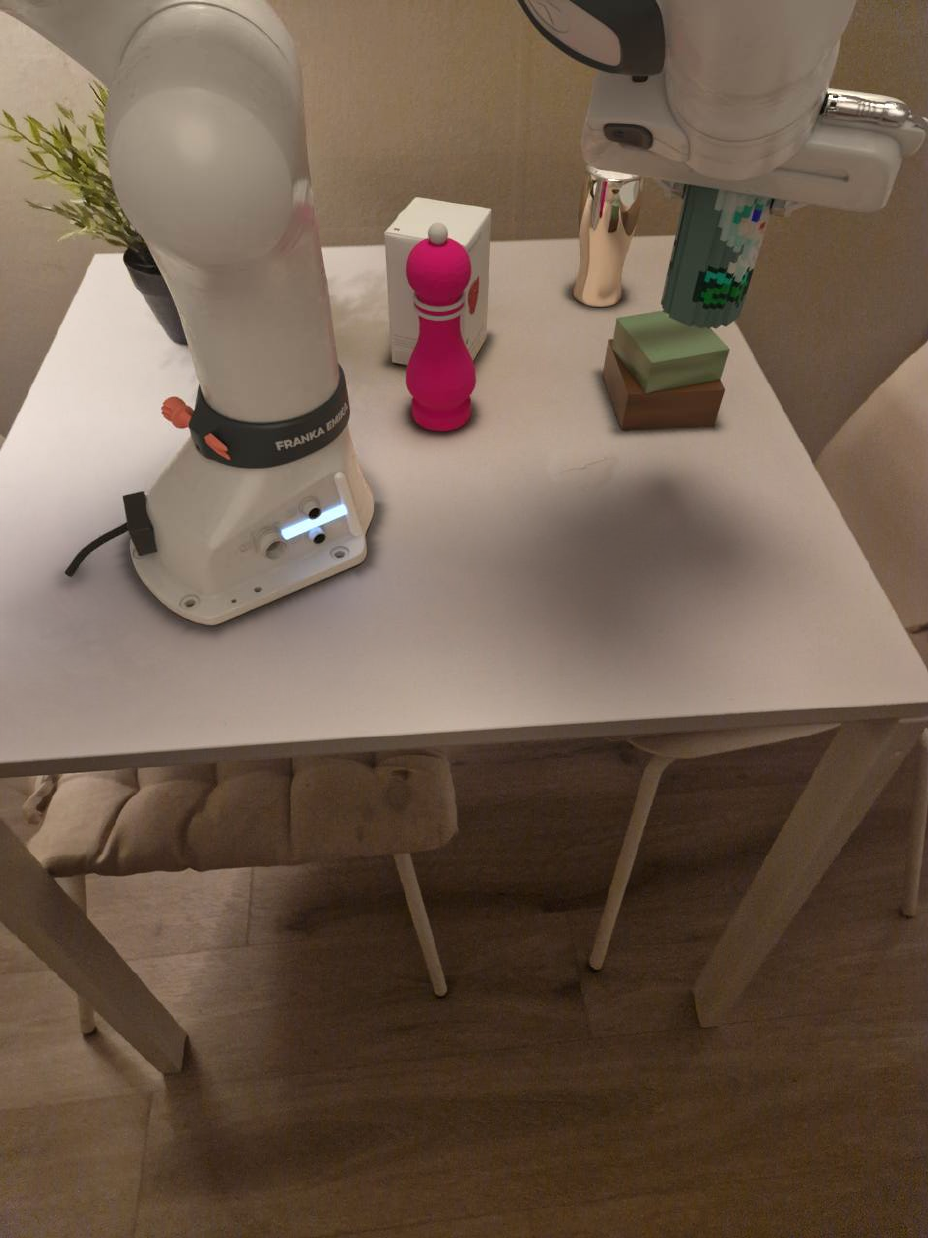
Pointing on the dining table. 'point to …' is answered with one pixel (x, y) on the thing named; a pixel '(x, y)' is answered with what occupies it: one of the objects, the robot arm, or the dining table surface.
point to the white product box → (400, 238)
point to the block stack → (664, 373)
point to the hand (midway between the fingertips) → (728, 196)
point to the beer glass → (605, 233)
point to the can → (714, 255)
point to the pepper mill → (439, 333)
